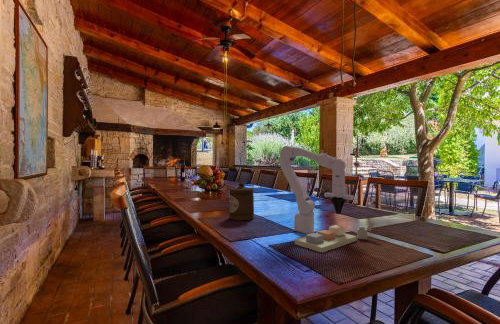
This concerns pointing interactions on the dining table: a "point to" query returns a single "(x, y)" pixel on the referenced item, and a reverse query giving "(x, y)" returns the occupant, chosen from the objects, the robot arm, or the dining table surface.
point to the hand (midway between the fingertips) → (338, 213)
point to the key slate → (314, 238)
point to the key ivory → (337, 230)
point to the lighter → (364, 231)
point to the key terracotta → (327, 234)
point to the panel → (327, 242)
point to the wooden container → (241, 203)
